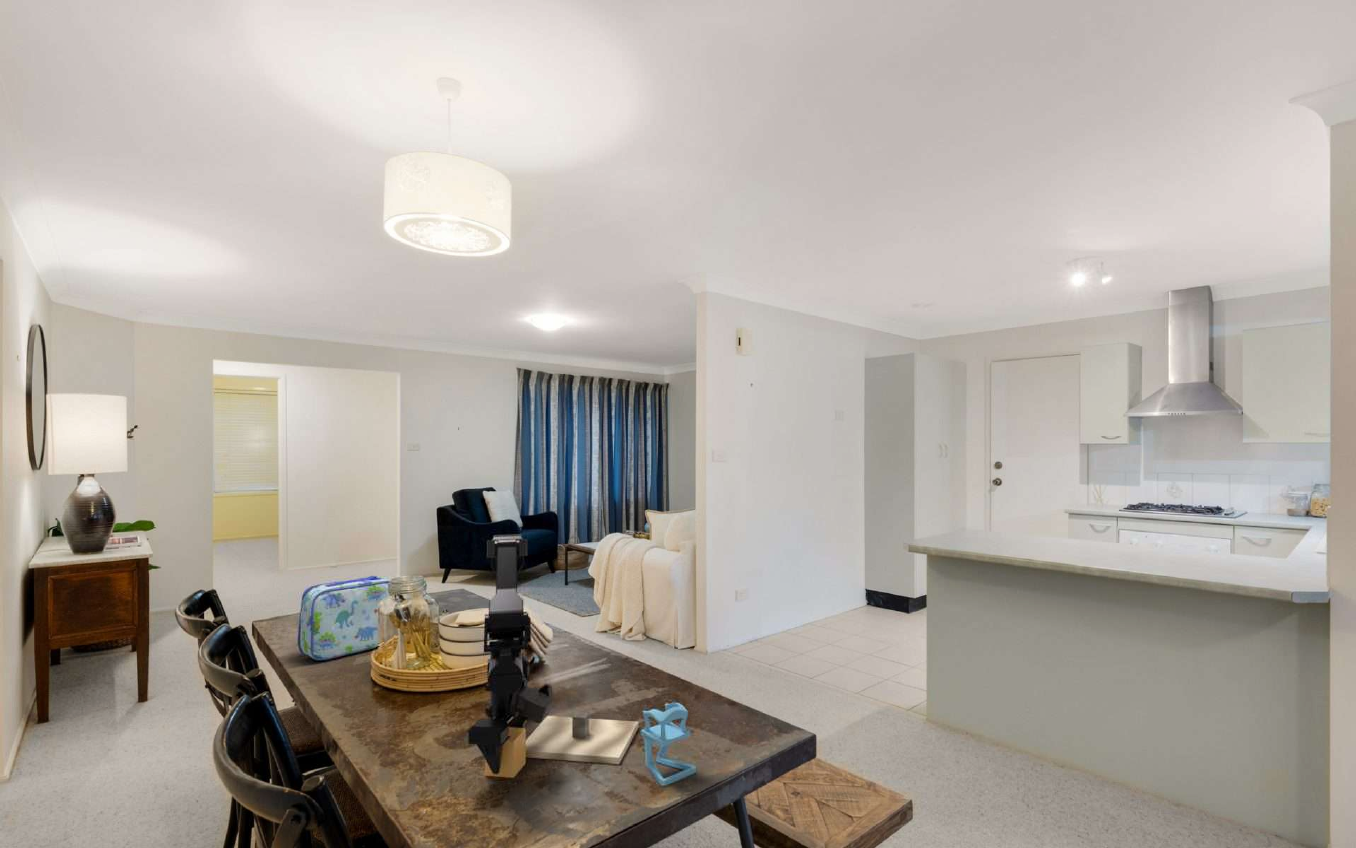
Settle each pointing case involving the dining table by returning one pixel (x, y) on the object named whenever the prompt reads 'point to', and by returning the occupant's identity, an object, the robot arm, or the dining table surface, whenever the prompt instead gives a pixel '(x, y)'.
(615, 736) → the board
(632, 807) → the dining table surface
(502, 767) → the block
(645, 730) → the chair
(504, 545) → the robot arm
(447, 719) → the dining table surface
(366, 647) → the lunch box
